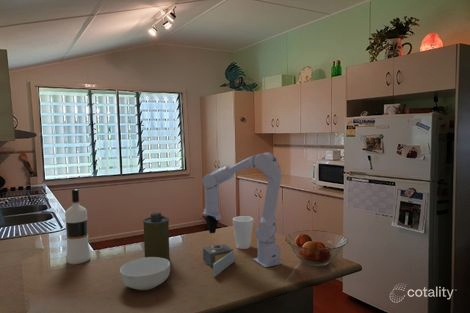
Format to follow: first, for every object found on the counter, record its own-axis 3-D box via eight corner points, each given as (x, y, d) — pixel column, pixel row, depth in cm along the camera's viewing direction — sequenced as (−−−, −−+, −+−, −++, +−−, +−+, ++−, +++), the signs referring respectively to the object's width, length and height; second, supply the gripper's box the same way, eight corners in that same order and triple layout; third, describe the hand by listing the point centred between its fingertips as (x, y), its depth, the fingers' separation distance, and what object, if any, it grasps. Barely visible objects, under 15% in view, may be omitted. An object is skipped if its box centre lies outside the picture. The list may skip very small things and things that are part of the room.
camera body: (233, 261, 137) (233, 248, 137) (210, 266, 133) (210, 252, 132) (225, 255, 145) (224, 242, 144) (203, 259, 140) (202, 246, 140)
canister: (164, 266, 133) (162, 216, 132) (139, 265, 135) (137, 215, 134) (174, 256, 144) (173, 210, 142) (151, 255, 146) (150, 209, 144)
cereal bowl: (151, 271, 129) (150, 253, 129) (180, 283, 119) (180, 263, 118) (110, 287, 116) (109, 267, 116) (139, 302, 106) (138, 280, 105)
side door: (234, 261, 137) (234, 250, 136) (214, 276, 123) (214, 264, 123) (232, 260, 137) (232, 250, 137) (213, 275, 123) (212, 263, 123)
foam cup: (253, 250, 150) (253, 221, 149) (232, 250, 151) (232, 221, 150) (252, 243, 160) (252, 216, 159) (233, 243, 160) (233, 216, 159)
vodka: (63, 266, 135) (59, 191, 133) (69, 257, 144) (65, 188, 142) (88, 263, 137) (85, 190, 135) (92, 255, 146) (89, 186, 144)
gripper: (197, 199, 149) (197, 229, 150) (209, 205, 136) (210, 238, 137) (211, 197, 152) (212, 227, 153) (225, 204, 139) (226, 236, 140)
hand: (212, 232), depth 146 cm, fingers closed
